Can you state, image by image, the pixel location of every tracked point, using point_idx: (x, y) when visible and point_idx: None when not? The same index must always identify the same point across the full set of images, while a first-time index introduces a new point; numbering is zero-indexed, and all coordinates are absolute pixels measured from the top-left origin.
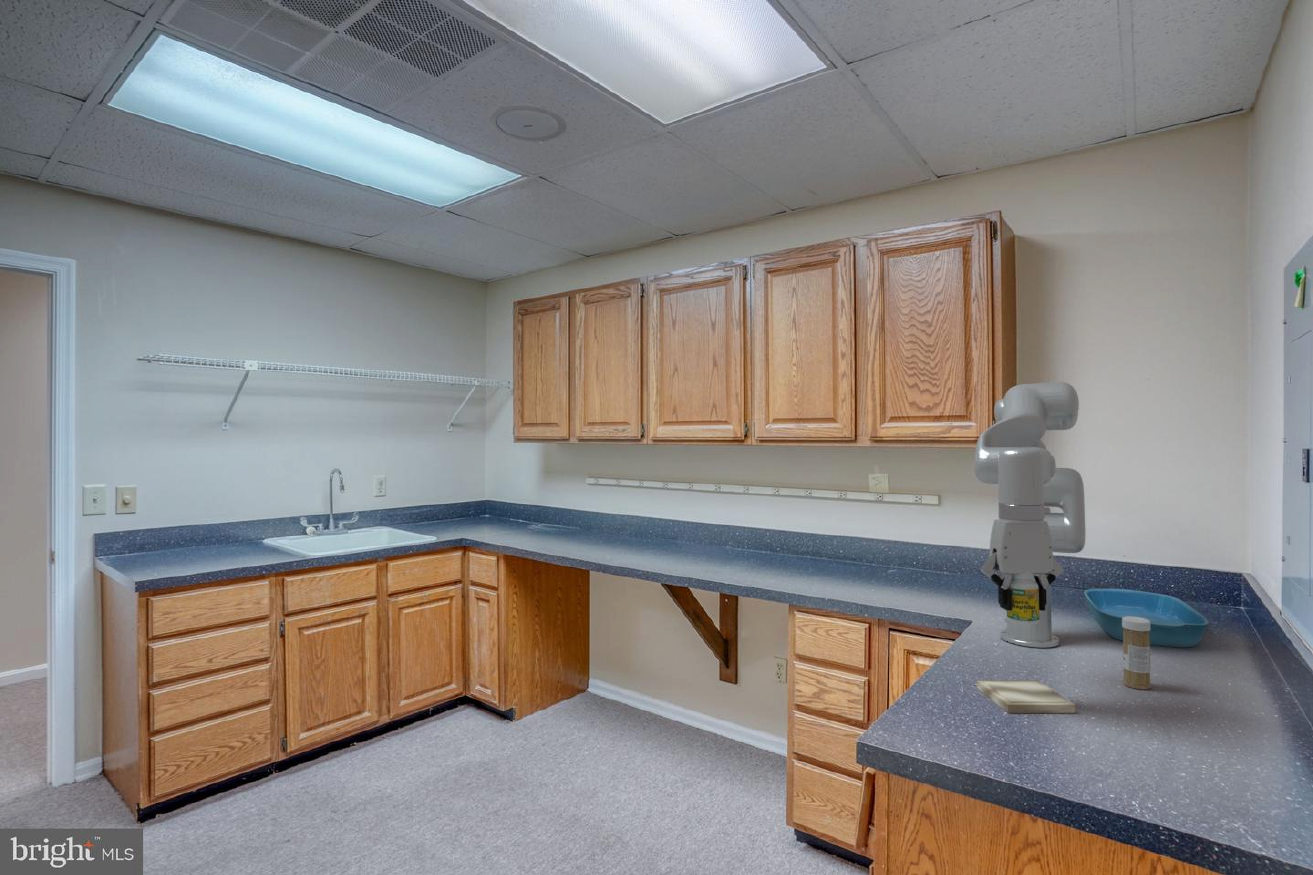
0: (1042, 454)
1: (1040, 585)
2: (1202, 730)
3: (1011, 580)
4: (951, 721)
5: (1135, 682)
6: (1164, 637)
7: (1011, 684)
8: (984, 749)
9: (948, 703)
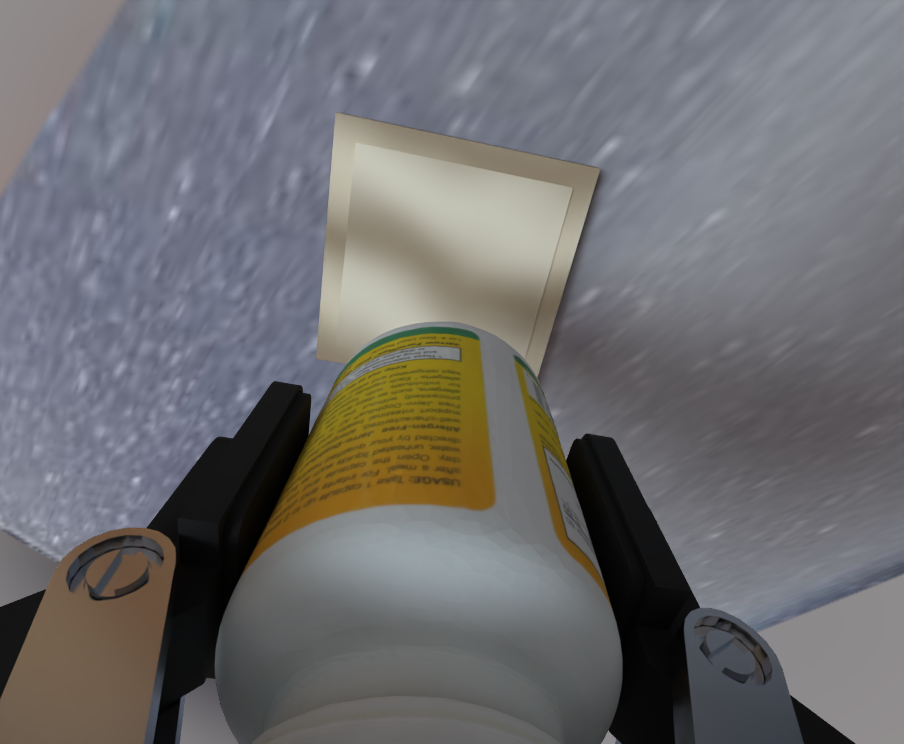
0: None
1: (621, 735)
2: (744, 515)
3: (262, 712)
4: (117, 367)
5: None
6: None
7: (449, 198)
8: (146, 506)
9: (158, 241)
